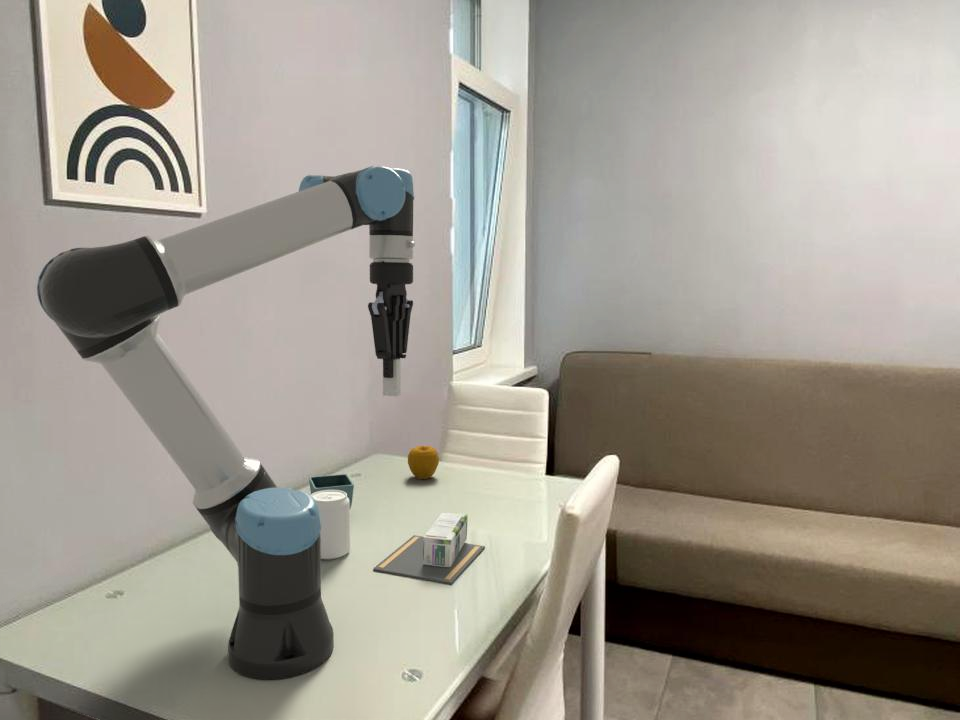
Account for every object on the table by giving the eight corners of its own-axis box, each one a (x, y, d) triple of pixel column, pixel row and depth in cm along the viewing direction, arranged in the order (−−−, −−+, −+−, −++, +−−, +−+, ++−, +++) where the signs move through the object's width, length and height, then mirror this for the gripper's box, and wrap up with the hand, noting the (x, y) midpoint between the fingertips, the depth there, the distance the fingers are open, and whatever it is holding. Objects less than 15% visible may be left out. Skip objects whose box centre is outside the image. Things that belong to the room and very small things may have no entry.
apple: (427, 471, 199) (427, 440, 198) (445, 478, 193) (445, 446, 191) (401, 476, 194) (401, 444, 193) (419, 484, 187) (419, 451, 186)
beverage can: (340, 563, 137) (339, 503, 135) (301, 559, 138) (300, 500, 137) (356, 547, 145) (355, 490, 143) (319, 543, 146) (318, 487, 145)
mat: (451, 584, 128) (451, 581, 128) (373, 570, 134) (373, 567, 134) (484, 548, 145) (484, 545, 145) (413, 537, 150) (413, 534, 150)
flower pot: (355, 523, 158) (354, 484, 157) (315, 527, 155) (314, 488, 154) (347, 510, 166) (346, 473, 165) (309, 514, 163) (308, 477, 162)
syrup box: (467, 540, 148) (452, 568, 134) (439, 537, 149) (422, 565, 135) (467, 513, 147) (452, 539, 133) (440, 511, 149) (422, 537, 134)
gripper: (393, 261, 115) (394, 403, 118) (426, 261, 127) (426, 390, 130) (353, 260, 118) (354, 399, 121) (389, 261, 130) (389, 388, 133)
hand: (391, 395), depth 126 cm, fingers closed
